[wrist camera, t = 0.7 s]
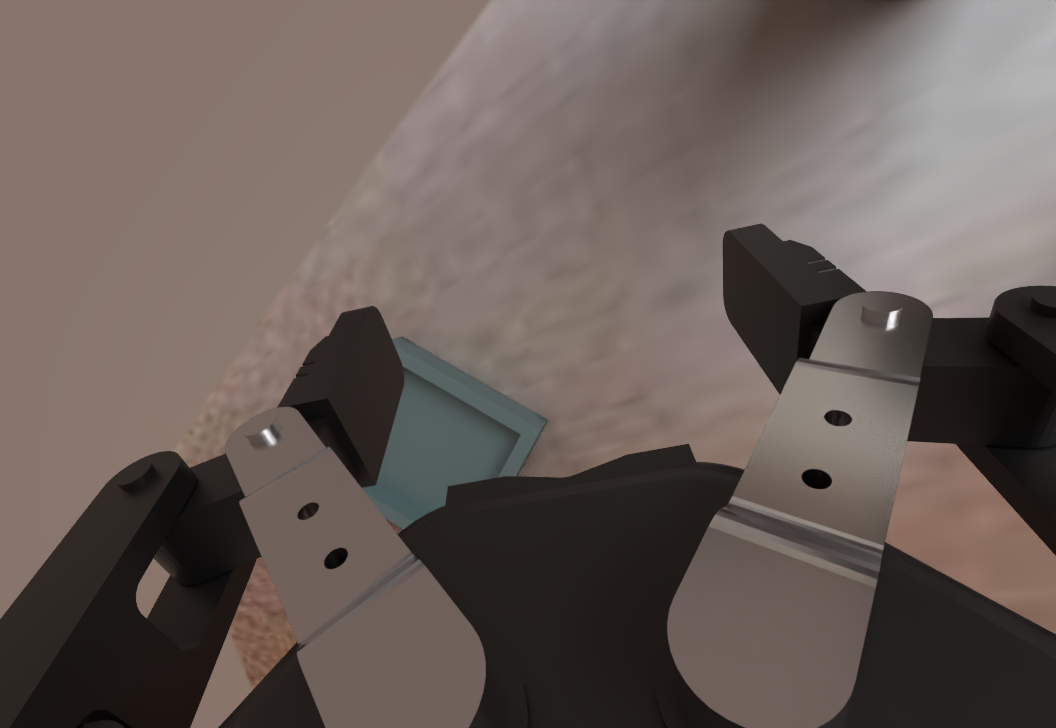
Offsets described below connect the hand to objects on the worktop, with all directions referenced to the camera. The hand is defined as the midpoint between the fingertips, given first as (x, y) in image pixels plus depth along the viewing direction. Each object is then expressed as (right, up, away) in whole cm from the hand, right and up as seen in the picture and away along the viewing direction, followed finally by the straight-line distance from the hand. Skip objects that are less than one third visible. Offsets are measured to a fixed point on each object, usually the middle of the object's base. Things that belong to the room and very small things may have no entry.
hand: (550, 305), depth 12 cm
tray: (-7, -7, +27) cm, 28 cm away
